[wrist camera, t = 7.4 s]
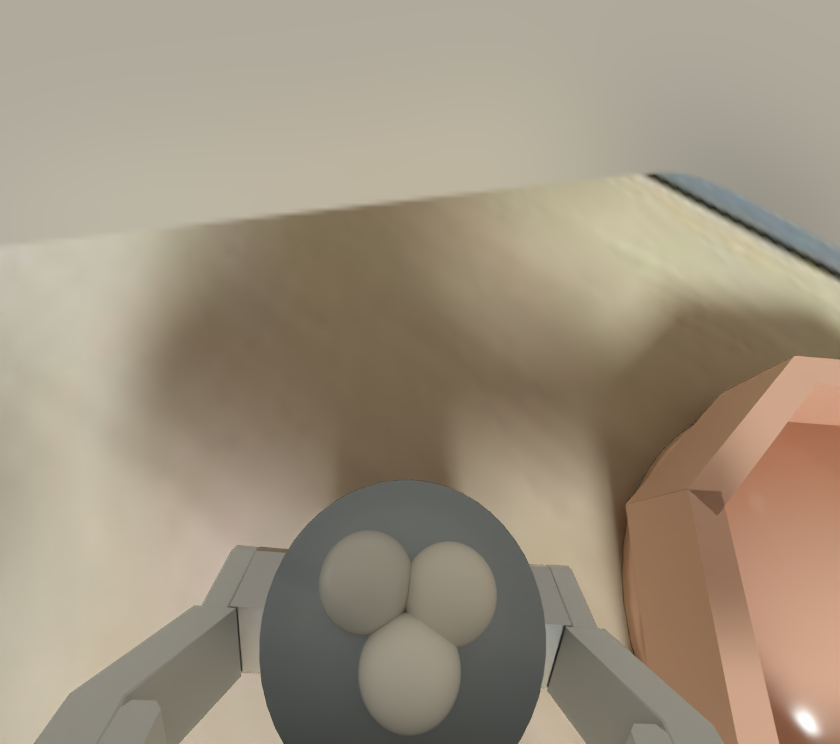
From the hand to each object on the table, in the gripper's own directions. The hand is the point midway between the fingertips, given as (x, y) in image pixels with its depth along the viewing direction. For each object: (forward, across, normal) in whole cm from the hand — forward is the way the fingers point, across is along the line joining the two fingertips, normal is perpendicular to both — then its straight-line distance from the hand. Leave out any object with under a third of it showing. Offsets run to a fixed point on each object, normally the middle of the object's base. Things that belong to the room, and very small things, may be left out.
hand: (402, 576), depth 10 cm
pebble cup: (+3, 0, +4) cm, 5 cm away
